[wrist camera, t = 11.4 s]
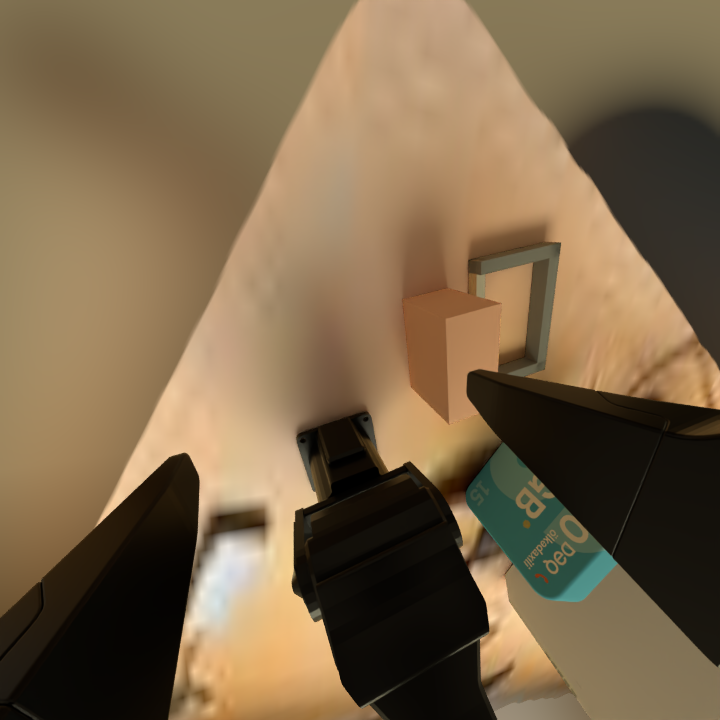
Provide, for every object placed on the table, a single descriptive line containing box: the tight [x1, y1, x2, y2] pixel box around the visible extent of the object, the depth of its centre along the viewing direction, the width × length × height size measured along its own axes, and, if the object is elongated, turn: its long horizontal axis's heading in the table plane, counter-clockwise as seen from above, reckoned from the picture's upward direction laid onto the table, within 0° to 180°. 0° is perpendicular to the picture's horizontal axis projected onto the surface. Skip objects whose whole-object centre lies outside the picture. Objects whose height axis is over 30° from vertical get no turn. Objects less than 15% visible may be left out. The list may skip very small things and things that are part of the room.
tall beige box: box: [403, 288, 502, 425], centre depth 22 cm, size 8×4×6 cm, turn 9°
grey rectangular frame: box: [469, 242, 561, 377], centre depth 26 cm, size 12×8×2 cm, turn 9°
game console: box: [505, 564, 720, 720], centre depth 36 cm, size 6×27×20 cm, turn 154°
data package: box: [466, 442, 618, 602], centre depth 29 cm, size 12×4×12 cm, turn 146°
